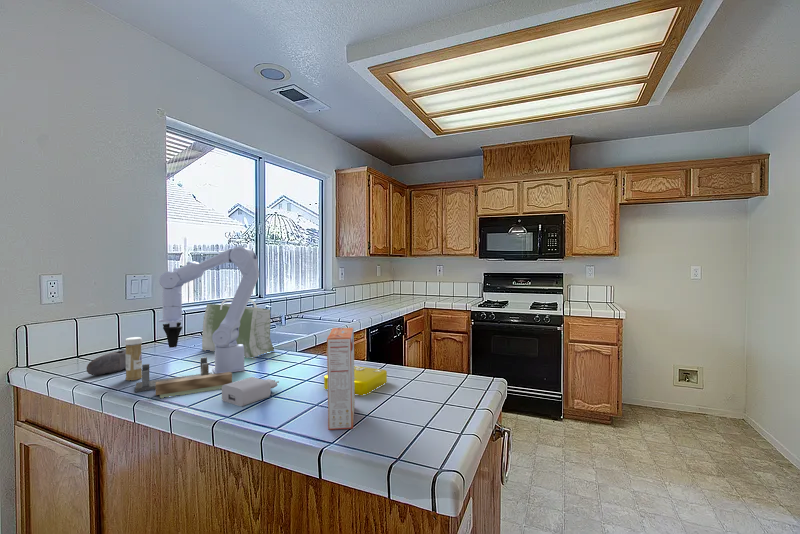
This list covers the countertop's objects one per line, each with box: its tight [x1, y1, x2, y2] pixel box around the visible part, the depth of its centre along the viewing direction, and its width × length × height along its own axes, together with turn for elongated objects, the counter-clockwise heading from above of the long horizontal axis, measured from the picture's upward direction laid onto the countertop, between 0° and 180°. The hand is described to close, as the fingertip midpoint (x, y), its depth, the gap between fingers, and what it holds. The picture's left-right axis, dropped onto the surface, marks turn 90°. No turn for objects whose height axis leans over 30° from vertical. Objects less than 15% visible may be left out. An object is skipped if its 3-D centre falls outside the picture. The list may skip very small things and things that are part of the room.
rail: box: [155, 372, 233, 396], centre depth 115 cm, size 20×3×3 cm, turn 123°
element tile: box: [323, 365, 388, 395], centre depth 118 cm, size 15×15×5 cm
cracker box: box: [326, 327, 356, 431], centre depth 93 cm, size 14×6×21 cm, turn 5°
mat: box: [159, 385, 223, 399], centre depth 115 cm, size 19×8×1 cm, turn 123°
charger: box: [221, 376, 280, 407], centre depth 109 cm, size 5×9×15 cm
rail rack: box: [134, 356, 213, 393], centre depth 121 cm, size 21×7×6 cm, turn 123°
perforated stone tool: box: [86, 349, 126, 376], centre depth 134 cm, size 15×5×7 cm, turn 155°
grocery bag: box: [201, 298, 275, 358], centre depth 167 cm, size 32×14×23 cm, turn 62°
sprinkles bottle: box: [124, 336, 143, 382], centre depth 126 cm, size 5×5×14 cm
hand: (172, 345), depth 133 cm, fingers open, 7 cm apart
